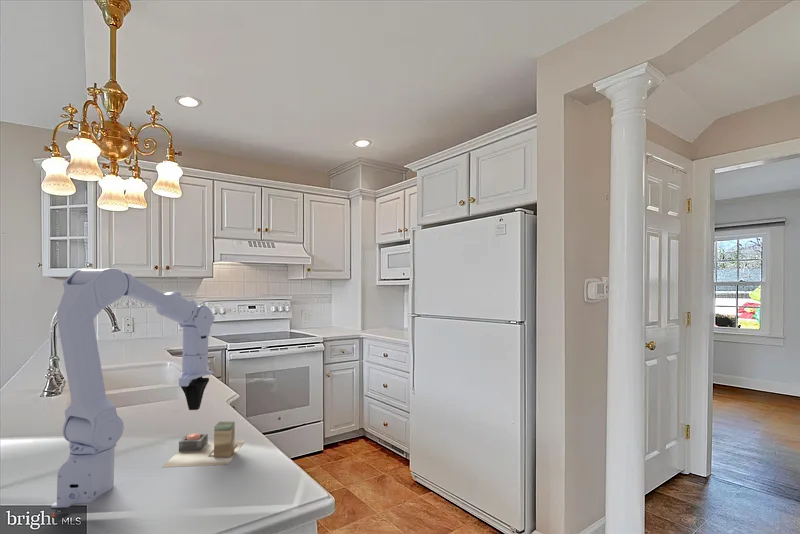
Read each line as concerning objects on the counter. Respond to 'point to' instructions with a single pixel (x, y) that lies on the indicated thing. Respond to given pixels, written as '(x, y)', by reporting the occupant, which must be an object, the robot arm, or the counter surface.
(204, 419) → the counter surface
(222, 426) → the green topped wooden block
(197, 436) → the button
